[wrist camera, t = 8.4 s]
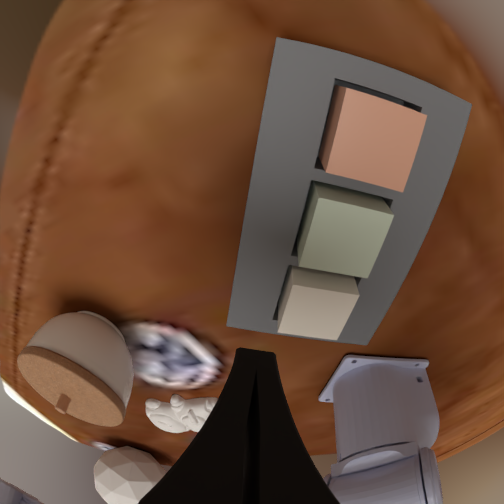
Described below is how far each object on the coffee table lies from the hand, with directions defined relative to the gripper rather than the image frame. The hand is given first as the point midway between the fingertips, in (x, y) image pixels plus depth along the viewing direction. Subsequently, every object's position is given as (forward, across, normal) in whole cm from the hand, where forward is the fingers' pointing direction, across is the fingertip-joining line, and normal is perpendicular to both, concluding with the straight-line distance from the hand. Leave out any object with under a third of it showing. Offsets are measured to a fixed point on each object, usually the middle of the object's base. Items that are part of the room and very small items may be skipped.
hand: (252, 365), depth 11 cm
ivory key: (+8, -4, +2) cm, 9 cm away
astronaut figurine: (+10, +4, +27) cm, 29 cm away
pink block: (+8, -4, -8) cm, 12 cm away
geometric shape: (+10, +14, +52) cm, 55 cm away
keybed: (+10, -4, -3) cm, 11 cm away
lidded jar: (+10, +14, +14) cm, 22 cm away
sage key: (+8, -4, -3) cm, 9 cm away
